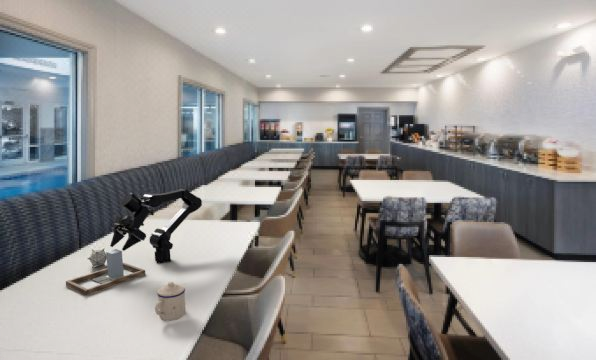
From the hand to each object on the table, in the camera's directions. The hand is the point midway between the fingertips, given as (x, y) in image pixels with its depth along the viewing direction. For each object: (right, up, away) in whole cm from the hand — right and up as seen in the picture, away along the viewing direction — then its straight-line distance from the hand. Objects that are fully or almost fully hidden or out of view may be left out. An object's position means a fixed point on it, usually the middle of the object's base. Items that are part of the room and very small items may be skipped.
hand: (116, 248), depth 169 cm
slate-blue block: (-1, -12, +1) cm, 12 cm away
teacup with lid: (+34, -17, -35) cm, 52 cm away
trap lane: (-2, -13, -2) cm, 13 cm away
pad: (-1, -12, +1) cm, 12 cm away
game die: (-15, -11, +14) cm, 23 cm away
